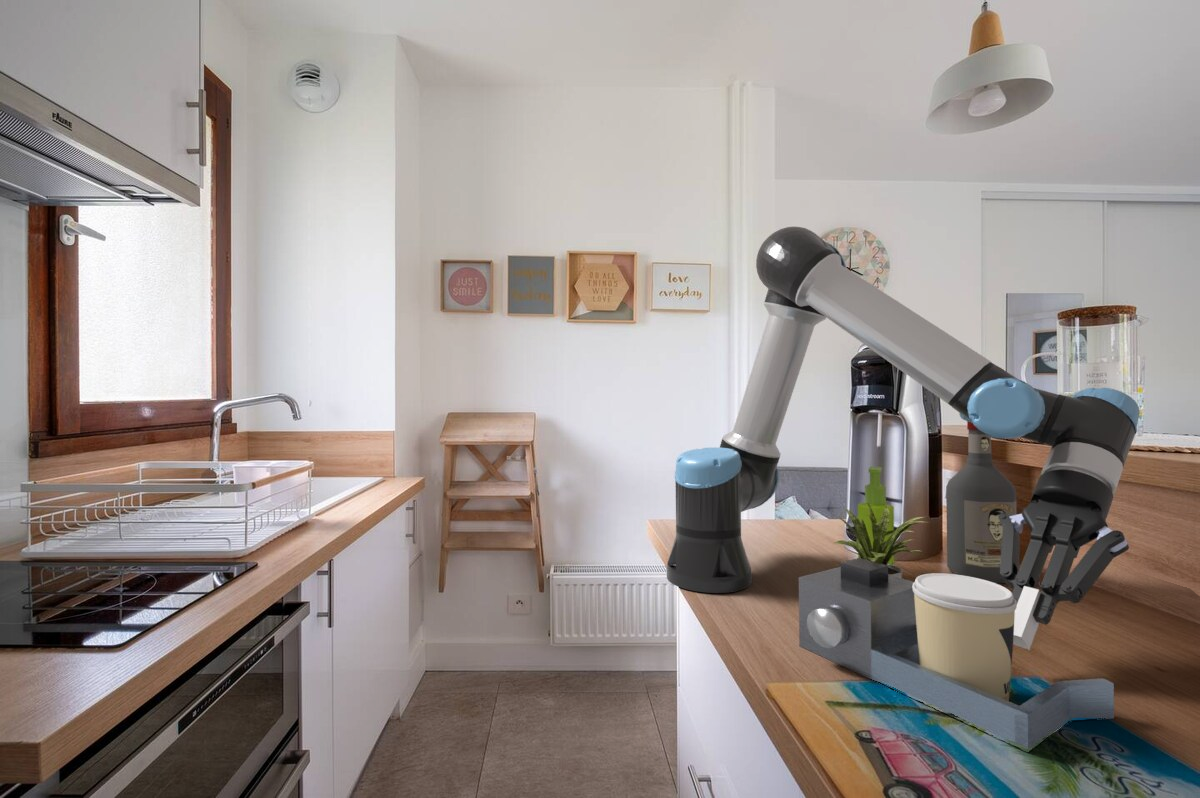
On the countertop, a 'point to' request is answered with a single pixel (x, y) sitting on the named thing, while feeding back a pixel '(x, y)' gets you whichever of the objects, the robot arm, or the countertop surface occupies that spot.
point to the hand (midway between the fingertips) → (1017, 641)
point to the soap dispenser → (875, 506)
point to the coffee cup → (966, 630)
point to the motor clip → (891, 655)
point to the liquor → (977, 512)
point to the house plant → (879, 539)
